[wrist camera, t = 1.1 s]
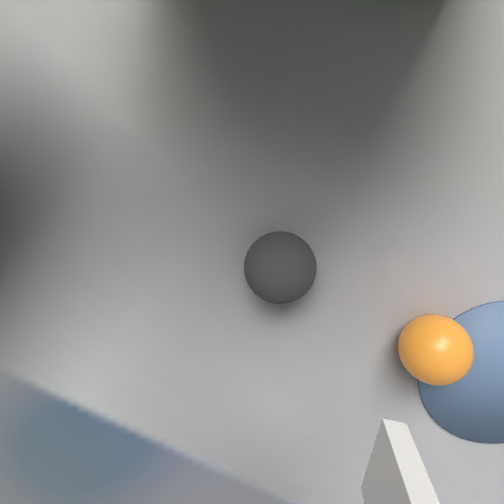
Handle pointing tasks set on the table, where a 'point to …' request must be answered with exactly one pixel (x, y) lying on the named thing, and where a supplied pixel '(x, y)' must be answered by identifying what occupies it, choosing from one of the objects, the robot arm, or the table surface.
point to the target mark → (474, 382)
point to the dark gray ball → (280, 267)
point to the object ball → (436, 350)
